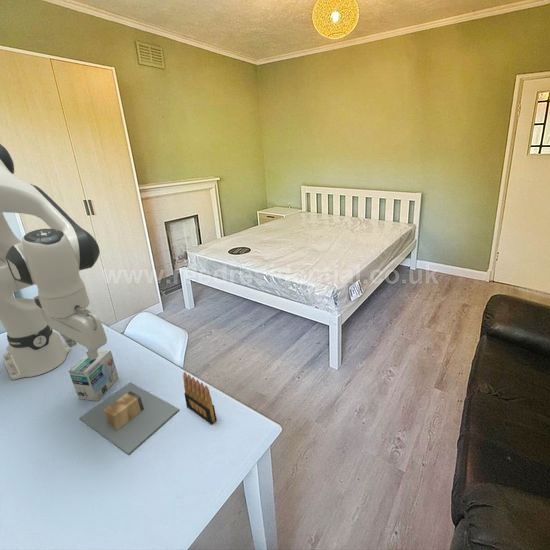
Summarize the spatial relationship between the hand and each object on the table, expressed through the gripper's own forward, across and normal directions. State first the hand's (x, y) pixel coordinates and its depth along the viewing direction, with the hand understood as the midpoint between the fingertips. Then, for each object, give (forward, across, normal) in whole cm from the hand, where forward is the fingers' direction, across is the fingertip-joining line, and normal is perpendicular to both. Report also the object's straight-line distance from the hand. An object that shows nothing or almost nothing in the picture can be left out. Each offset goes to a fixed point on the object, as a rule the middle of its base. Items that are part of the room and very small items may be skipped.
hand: (82, 351), depth 79 cm
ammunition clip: (+23, -22, -15) cm, 35 cm away
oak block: (+20, -4, 0) cm, 21 cm away
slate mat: (+23, -4, -5) cm, 24 cm away
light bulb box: (+24, +14, -7) cm, 28 cm away
